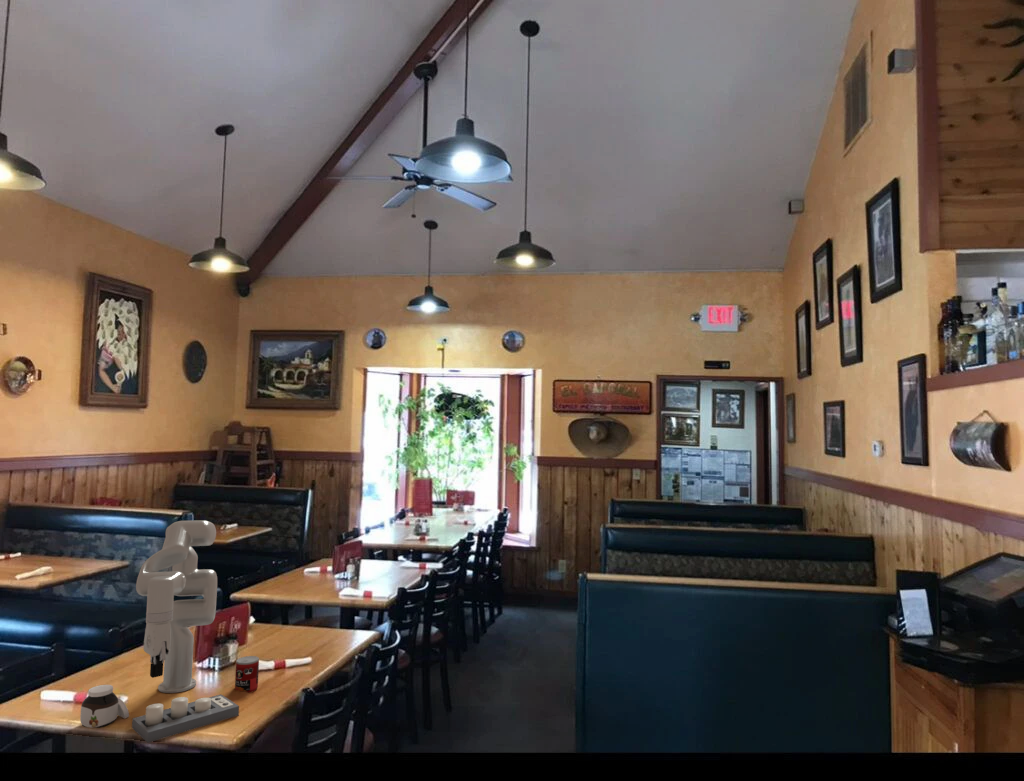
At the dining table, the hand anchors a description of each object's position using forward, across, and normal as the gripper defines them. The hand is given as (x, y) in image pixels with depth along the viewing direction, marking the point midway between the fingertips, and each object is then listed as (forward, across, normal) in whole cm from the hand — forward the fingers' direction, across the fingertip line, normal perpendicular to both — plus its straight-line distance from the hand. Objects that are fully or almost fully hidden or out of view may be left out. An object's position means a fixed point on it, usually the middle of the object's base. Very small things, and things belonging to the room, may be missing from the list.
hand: (156, 675), depth 209 cm
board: (+18, 0, +10) cm, 21 cm away
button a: (+17, 0, +15) cm, 23 cm away
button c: (+15, 0, 0) cm, 15 cm away
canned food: (+18, -15, +37) cm, 44 cm away
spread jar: (+18, -19, -8) cm, 28 cm away
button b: (+15, 0, +8) cm, 16 cm away
